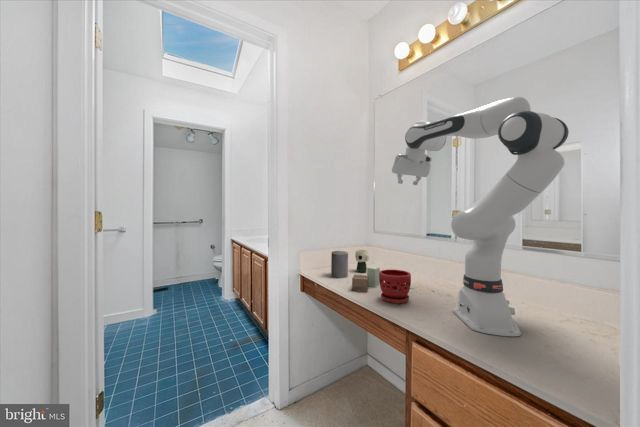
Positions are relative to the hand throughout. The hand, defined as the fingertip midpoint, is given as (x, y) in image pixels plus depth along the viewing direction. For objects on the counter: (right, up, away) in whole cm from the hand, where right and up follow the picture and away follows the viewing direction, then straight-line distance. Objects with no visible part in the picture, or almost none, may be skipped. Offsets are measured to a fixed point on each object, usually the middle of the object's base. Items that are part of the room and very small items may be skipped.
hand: (407, 184), depth 126 cm
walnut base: (-24, -51, -4) cm, 57 cm away
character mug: (-18, -51, +29) cm, 61 cm away
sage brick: (-17, -51, +2) cm, 54 cm away
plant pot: (-12, -52, -18) cm, 56 cm away
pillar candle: (-32, -51, +19) cm, 63 cm away
